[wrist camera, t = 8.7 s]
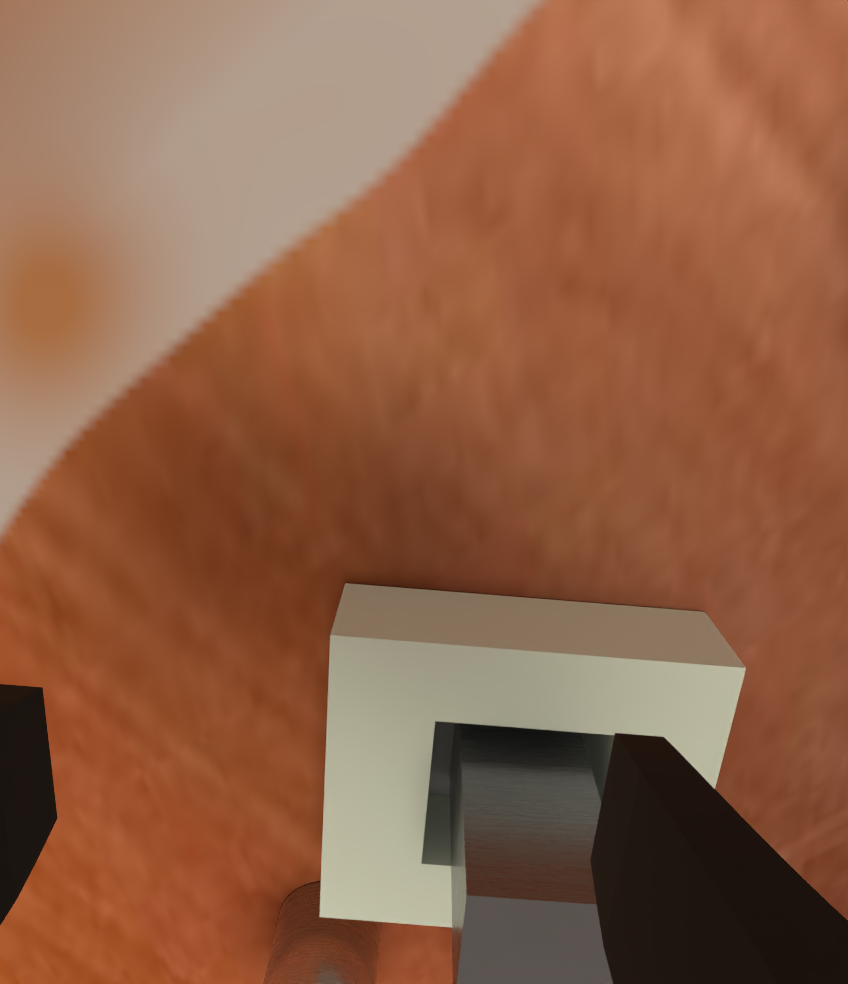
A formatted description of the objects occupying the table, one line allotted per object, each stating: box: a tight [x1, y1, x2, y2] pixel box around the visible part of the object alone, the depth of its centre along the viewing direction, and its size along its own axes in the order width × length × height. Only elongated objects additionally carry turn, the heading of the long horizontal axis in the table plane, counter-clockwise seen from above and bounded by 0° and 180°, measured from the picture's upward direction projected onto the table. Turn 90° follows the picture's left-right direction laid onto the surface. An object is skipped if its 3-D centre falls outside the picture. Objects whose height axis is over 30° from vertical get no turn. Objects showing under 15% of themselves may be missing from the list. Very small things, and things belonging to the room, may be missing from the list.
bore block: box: [319, 583, 746, 927], centre depth 20 cm, size 10×9×3 cm
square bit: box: [450, 723, 613, 984], centre depth 18 cm, size 3×3×7 cm
